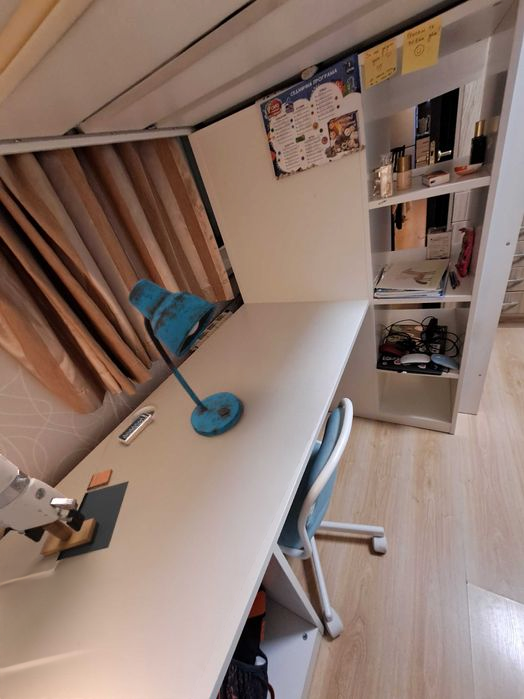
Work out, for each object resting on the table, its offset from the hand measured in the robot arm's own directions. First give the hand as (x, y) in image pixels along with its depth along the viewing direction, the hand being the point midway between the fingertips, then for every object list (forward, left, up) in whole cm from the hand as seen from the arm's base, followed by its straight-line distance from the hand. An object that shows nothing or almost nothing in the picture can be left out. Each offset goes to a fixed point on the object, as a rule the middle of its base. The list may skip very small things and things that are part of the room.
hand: (61, 529), depth 65 cm
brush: (0, 0, -5) cm, 5 cm away
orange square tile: (+2, +15, -5) cm, 16 cm away
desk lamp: (+36, +27, -5) cm, 45 cm away
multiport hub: (+7, +31, -5) cm, 32 cm away
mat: (0, +4, -5) cm, 7 cm away
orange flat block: (-2, +15, -5) cm, 16 cm away
